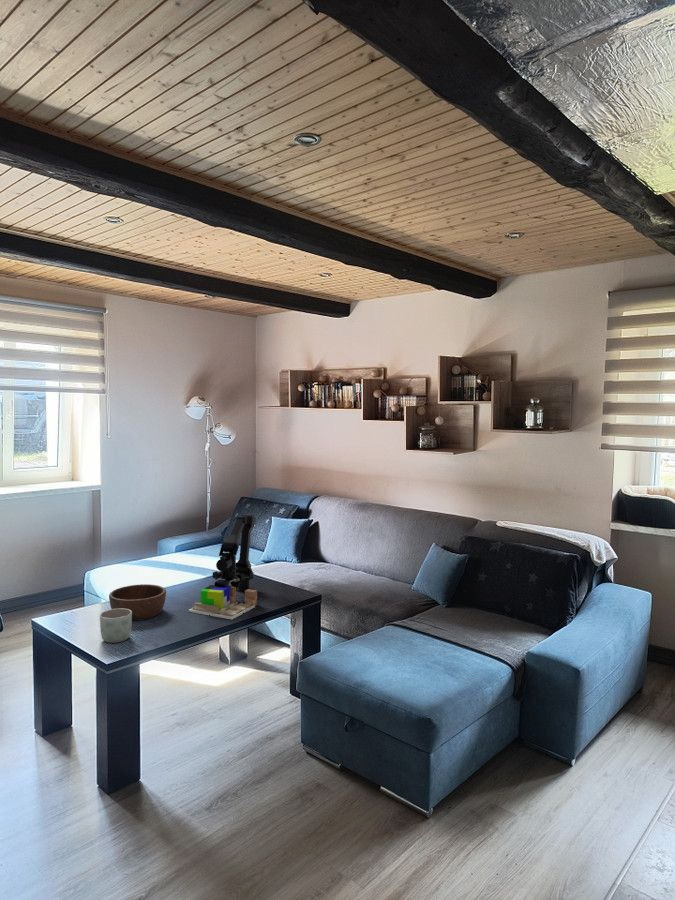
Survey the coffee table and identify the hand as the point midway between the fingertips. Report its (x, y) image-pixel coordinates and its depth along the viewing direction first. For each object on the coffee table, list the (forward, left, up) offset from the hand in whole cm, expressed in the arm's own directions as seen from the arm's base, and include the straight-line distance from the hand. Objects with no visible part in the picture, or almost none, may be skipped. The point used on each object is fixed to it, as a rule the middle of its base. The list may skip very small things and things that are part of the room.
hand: (230, 597), depth 298 cm
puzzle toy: (+13, 0, -2) cm, 13 cm away
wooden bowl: (+33, -28, -2) cm, 43 cm away
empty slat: (+9, +12, -2) cm, 15 cm away
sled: (+9, 0, -2) cm, 9 cm away
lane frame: (+12, +3, -2) cm, 12 cm away
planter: (+61, -14, -2) cm, 63 cm away
